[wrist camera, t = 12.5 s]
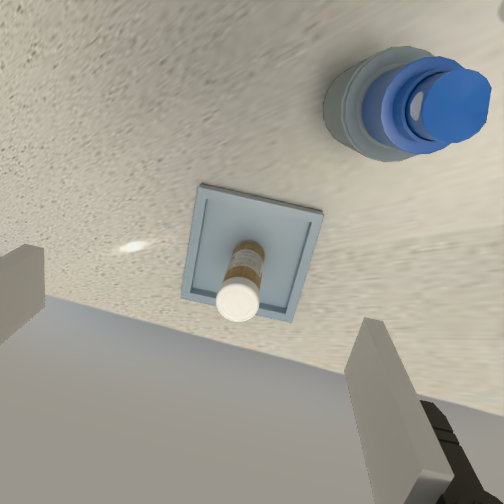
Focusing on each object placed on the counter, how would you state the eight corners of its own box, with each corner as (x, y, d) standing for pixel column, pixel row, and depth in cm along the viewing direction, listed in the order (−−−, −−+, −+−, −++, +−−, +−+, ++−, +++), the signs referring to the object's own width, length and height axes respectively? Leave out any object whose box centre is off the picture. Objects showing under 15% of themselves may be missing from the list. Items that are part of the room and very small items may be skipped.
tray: (201, 183, 48) (198, 187, 46) (322, 211, 48) (323, 215, 46) (184, 291, 53) (180, 298, 51) (291, 314, 54) (291, 323, 52)
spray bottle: (317, 143, 45) (358, 180, 22) (329, 61, 42) (394, 1, 18) (391, 150, 45) (513, 196, 21) (409, 68, 41) (577, 17, 18)
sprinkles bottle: (250, 276, 51) (239, 331, 39) (225, 256, 50) (205, 305, 38) (272, 253, 50) (268, 303, 37) (246, 232, 49) (233, 275, 36)
